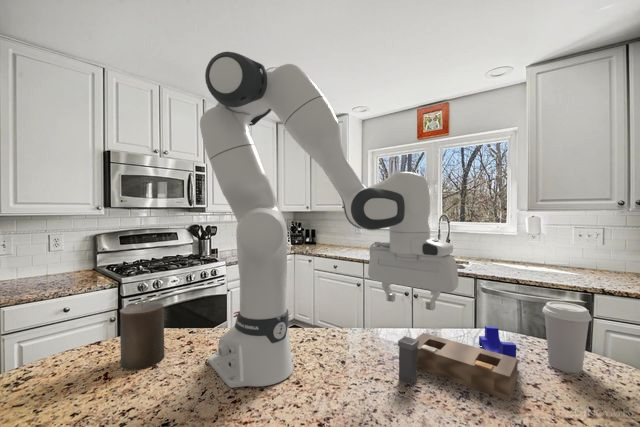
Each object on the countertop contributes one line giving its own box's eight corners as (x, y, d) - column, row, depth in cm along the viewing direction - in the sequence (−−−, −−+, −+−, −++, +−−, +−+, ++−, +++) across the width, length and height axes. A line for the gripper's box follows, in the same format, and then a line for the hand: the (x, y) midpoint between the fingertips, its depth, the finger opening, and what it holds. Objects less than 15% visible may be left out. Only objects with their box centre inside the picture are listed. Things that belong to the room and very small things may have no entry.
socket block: (406, 364, 77) (407, 343, 77) (422, 350, 84) (423, 331, 84) (509, 401, 62) (509, 375, 62) (517, 380, 70) (517, 357, 70)
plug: (397, 379, 70) (398, 340, 70) (404, 373, 73) (404, 335, 72) (411, 385, 68) (412, 345, 68) (418, 379, 70) (418, 340, 70)
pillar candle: (168, 362, 78) (168, 302, 78) (122, 374, 72) (122, 310, 71) (159, 348, 85) (159, 294, 85) (117, 359, 79) (117, 301, 79)
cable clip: (478, 346, 88) (479, 325, 88) (495, 347, 87) (496, 326, 87) (496, 367, 76) (496, 343, 76) (515, 369, 75) (516, 345, 75)
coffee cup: (533, 362, 78) (534, 303, 78) (553, 354, 83) (554, 298, 82) (578, 381, 70) (579, 315, 70) (598, 370, 74) (599, 309, 74)
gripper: (362, 242, 74) (363, 299, 74) (451, 249, 61) (451, 318, 61) (376, 240, 79) (376, 293, 79) (460, 245, 66) (460, 310, 66)
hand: (409, 304), depth 70 cm, fingers open, 8 cm apart
